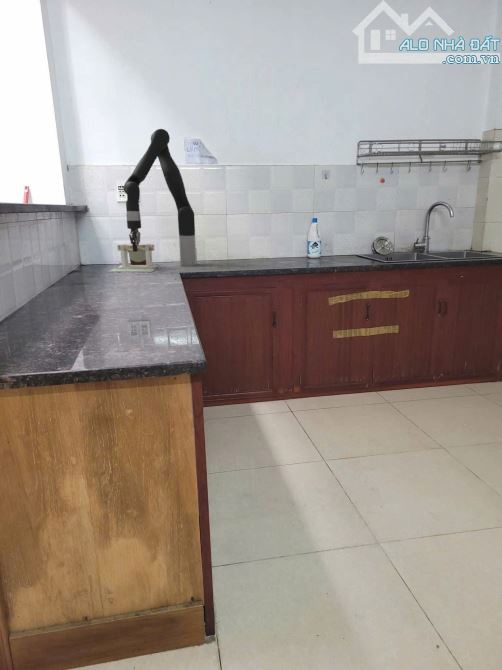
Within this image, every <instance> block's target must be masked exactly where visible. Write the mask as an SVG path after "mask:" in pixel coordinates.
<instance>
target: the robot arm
mask: <svg viewBox="0 0 502 670" xmlns="http://www.w3.org/2000/svg"><path fill="white" fill-rule="evenodd" d="M170 139H171V138H170V135H169V132H168V130H166V129H164V128H158V129H156V130H155V131H153V133H151V135H150V144H149V146H148V148H147V150H146V151H145V153H144V154H143V156H142V157H141V158H140V159H139V161H138V163H137V164H136V165H135V167H134V170H133V171H132V173H131V175H130V176H129V177H128V178H127V180H126V181H125V182H124V185H123V189H122V190H123V192H124V194H126V195H127V197H126V198H127V199H126V202H125V208H126V209H125V210H126V213H125V215H126V217H125V218H126V226H127V229H129V230H130V233H129V235H128V237H129V241H130V245H133V251H134V252H137V245H140V243H141V232H140V231H139V229H141V228H142V218H141V217H142V216H141V211H140V195H141V194H140V193H141V192H140V191H141V190H140V185H141V183H142V182H143V181H145V179H146V177H148V174H149V173H150V171H151V169H152V167H153V165H154V163H155V161H157V158H158V161H159V165H160V168H161V171H162V175H163V177H164V180H165V184H166V185H167V188H168V190H169V192H170V194H171V196H172V198H173V201H174V202H175V206H176V209H177V224H178V226H177V227H178V238H179V239H178V240H179V257H180V259H179V262H180V266H184V267H192V266H197V265H198V261H197V260H198V258H197V255H198V254H197V246H196V228H195V227H196V226H195V212H194V210H193V208H192V205H191V204H190V202H189V199H188V197H187V193H186V188H185V183H184V181H183V180H184V179H183V177H182V173H181V172H180V169H179V167H178V165H177V163H176V162H175V161H174V159H173V156H172V154H171V152H170V149H169V143H170Z"/></svg>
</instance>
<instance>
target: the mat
mask: <svg viewBox="0 0 502 670" xmlns="http://www.w3.org/2000/svg"><path fill="white" fill-rule="evenodd" d="M154 270H155V271H156V268H154V269H118V268H113V269H109V270H108V271H107V273H152V272H154Z"/></svg>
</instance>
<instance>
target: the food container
mask: <svg viewBox="0 0 502 670" xmlns="http://www.w3.org/2000/svg"><path fill="white" fill-rule="evenodd" d="M127 253H128V258H129V262H130V265H146V254H145V251H137V252H134V251H127Z"/></svg>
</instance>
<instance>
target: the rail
mask: <svg viewBox="0 0 502 670" xmlns="http://www.w3.org/2000/svg"><path fill="white" fill-rule="evenodd" d="M120 245H121V244H118V245H117V251H119V252H121V250H120ZM123 245H124V249H125V251H127V252H128V251H133V245H132V244H123ZM145 245H146V244H139V245H137V251H145ZM149 251H152V252H153V251H155V244H151V245H149Z"/></svg>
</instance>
